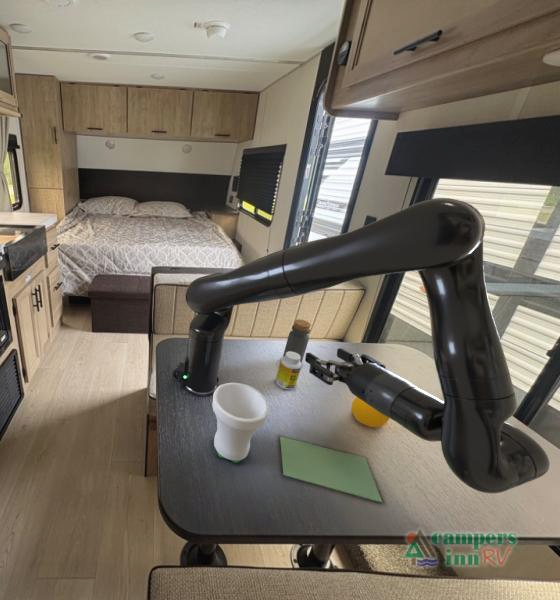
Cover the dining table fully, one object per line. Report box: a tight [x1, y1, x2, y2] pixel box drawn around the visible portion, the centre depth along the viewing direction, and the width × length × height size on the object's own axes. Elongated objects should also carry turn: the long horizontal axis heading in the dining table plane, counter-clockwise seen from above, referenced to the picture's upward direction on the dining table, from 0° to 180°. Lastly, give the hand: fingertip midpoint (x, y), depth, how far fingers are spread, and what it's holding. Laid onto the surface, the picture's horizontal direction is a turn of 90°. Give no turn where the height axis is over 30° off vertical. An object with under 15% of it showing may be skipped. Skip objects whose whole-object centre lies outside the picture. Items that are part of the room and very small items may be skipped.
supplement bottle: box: [275, 351, 302, 390], centre depth 87 cm, size 6×6×10 cm
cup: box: [212, 382, 270, 464], centre depth 64 cm, size 11×11×14 cm
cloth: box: [279, 436, 383, 504], centre depth 64 cm, size 18×10×1 cm, turn 74°
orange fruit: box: [351, 396, 390, 428], centre depth 76 cm, size 8×8×8 cm
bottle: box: [282, 319, 312, 364], centre depth 96 cm, size 6×6×15 cm
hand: (322, 354), depth 72 cm, fingers open, 8 cm apart
